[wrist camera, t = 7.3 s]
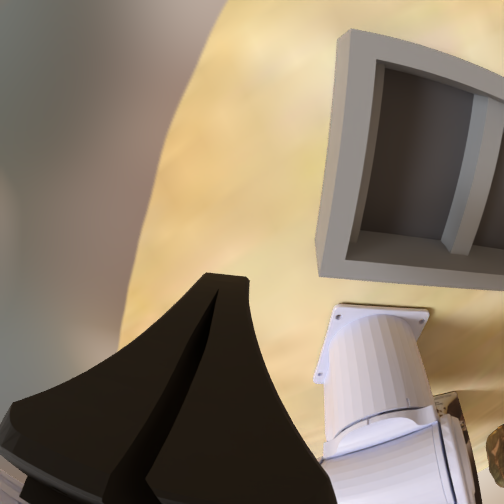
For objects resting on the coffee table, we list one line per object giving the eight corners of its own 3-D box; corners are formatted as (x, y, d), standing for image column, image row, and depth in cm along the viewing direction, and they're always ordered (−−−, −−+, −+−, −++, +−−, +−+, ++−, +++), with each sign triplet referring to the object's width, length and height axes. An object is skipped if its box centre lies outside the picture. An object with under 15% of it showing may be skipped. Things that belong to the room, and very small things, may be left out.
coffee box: (457, 388, 27) (487, 514, 14) (443, 416, 30) (463, 526, 17) (383, 403, 29) (396, 542, 15) (376, 429, 32) (384, 547, 19)
